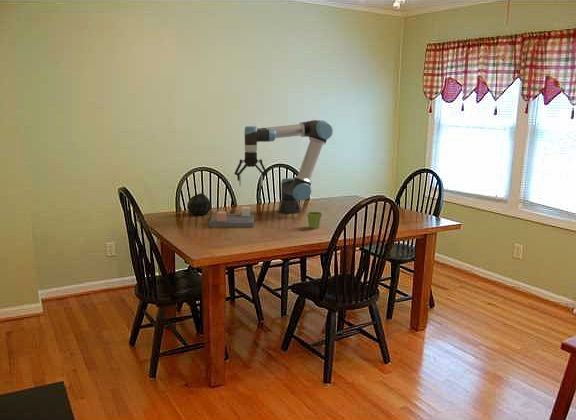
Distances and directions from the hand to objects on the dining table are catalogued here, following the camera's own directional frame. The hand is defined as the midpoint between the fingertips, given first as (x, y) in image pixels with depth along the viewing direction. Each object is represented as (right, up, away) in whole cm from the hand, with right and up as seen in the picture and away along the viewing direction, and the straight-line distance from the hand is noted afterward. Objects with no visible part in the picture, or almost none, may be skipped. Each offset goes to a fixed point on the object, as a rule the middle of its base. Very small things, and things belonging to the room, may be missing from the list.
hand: (250, 185), depth 315 cm
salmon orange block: (-16, -21, -15) cm, 31 cm away
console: (-11, -23, -6) cm, 26 cm away
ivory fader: (-3, -18, +1) cm, 19 cm away
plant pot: (+39, -26, -14) cm, 48 cm away
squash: (-35, -18, +17) cm, 43 cm away
